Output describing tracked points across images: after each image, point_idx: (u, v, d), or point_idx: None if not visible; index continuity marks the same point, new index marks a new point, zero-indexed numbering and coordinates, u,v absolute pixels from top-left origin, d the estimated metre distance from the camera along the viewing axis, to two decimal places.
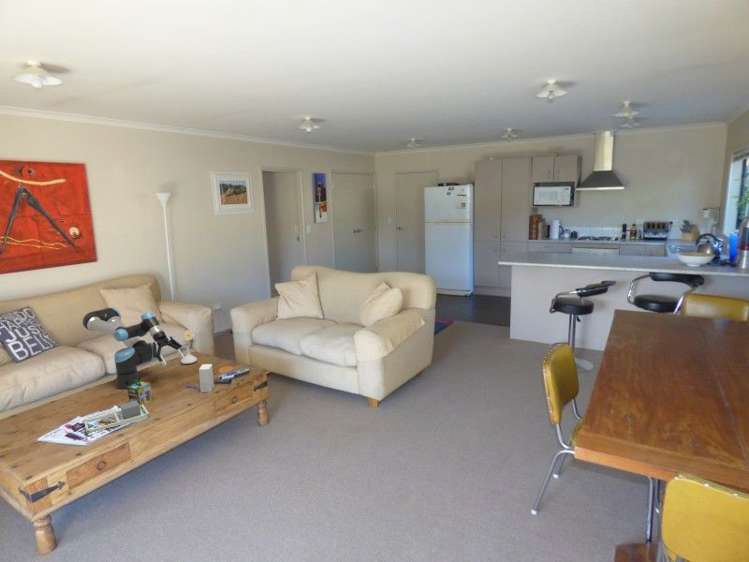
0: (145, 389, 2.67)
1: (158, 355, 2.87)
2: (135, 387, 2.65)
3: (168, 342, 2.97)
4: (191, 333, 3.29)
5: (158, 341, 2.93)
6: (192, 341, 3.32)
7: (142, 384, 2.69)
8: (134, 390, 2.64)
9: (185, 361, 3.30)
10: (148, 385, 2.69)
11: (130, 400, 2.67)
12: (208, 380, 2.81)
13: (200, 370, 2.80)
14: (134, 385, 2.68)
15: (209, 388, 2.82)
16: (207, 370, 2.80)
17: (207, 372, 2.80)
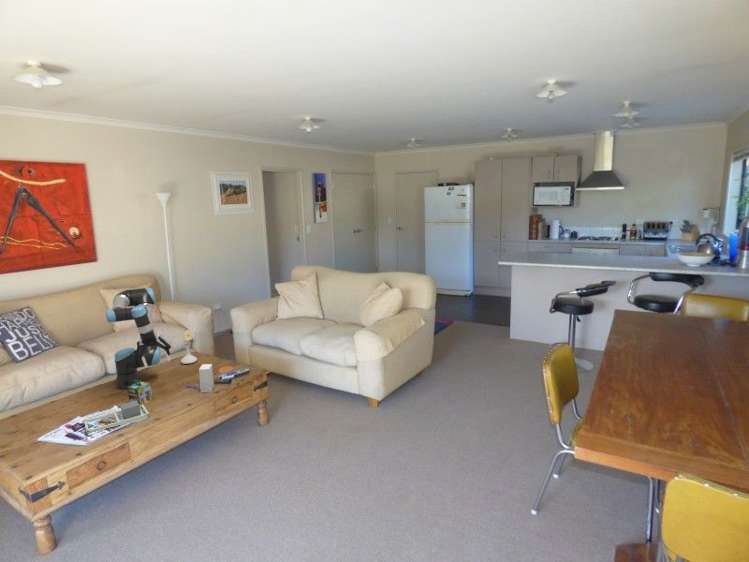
0: (145, 389, 2.67)
1: (139, 357, 2.75)
2: (135, 387, 2.65)
3: (154, 344, 2.74)
4: (191, 333, 3.29)
5: (143, 341, 2.73)
6: (192, 341, 3.32)
7: (142, 384, 2.69)
8: (134, 390, 2.64)
9: (185, 361, 3.30)
10: (148, 385, 2.69)
11: (130, 400, 2.67)
12: (208, 380, 2.81)
13: (200, 370, 2.80)
14: (134, 385, 2.68)
15: (209, 388, 2.82)
16: (207, 370, 2.80)
17: (207, 372, 2.80)
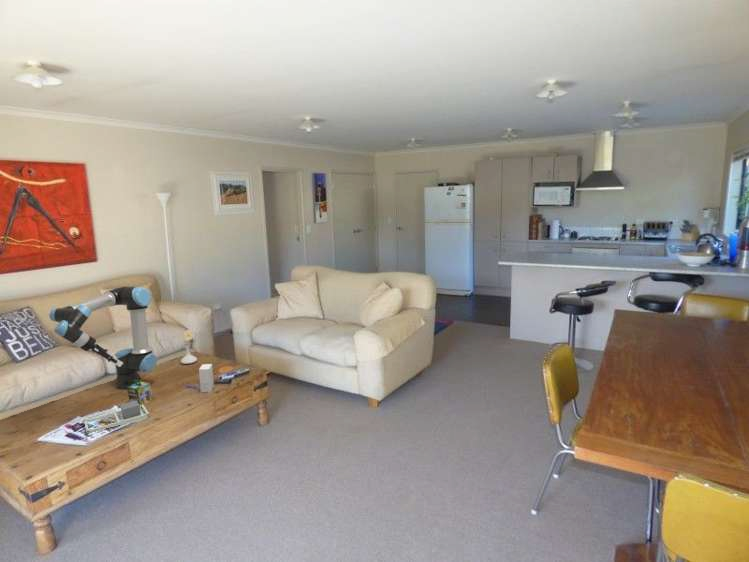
0: (145, 389, 2.67)
1: None
2: (135, 387, 2.65)
3: (97, 353, 2.51)
4: (191, 333, 3.29)
5: None
6: (192, 341, 3.32)
7: (142, 384, 2.69)
8: (134, 390, 2.64)
9: (185, 361, 3.30)
10: (148, 385, 2.69)
11: (130, 400, 2.67)
12: (208, 380, 2.81)
13: (200, 370, 2.80)
14: (134, 385, 2.68)
15: (209, 388, 2.82)
16: (207, 370, 2.80)
17: (207, 372, 2.80)
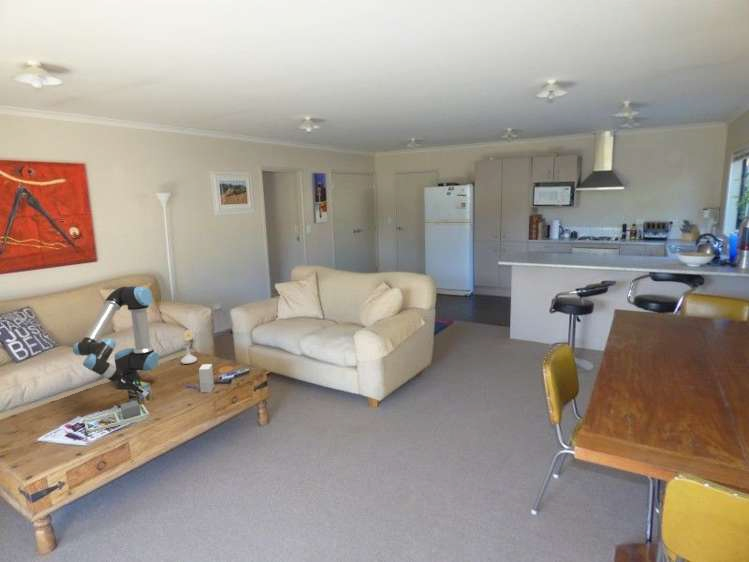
0: (145, 389, 2.67)
1: None
2: None
3: None
4: (191, 333, 3.29)
5: None
6: (192, 341, 3.32)
7: (142, 384, 2.69)
8: None
9: (185, 361, 3.30)
10: (148, 385, 2.69)
11: (130, 400, 2.67)
12: (208, 380, 2.81)
13: (200, 370, 2.80)
14: None
15: (209, 388, 2.82)
16: (207, 370, 2.80)
17: (207, 372, 2.80)
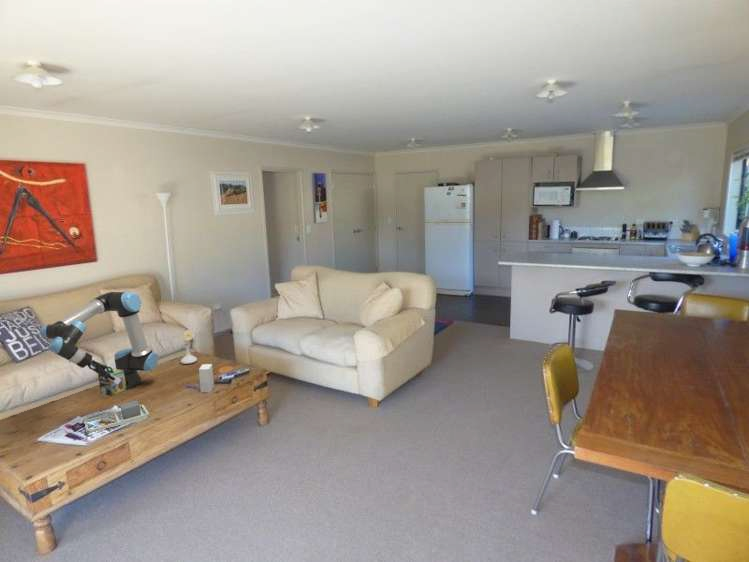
0: (117, 376, 2.47)
1: None
2: None
3: None
4: (191, 333, 3.29)
5: None
6: (192, 341, 3.32)
7: (114, 371, 2.48)
8: None
9: (185, 361, 3.30)
10: (121, 372, 2.49)
11: (101, 388, 2.47)
12: (208, 380, 2.81)
13: (200, 370, 2.80)
14: None
15: (209, 388, 2.82)
16: (207, 370, 2.80)
17: (207, 372, 2.80)
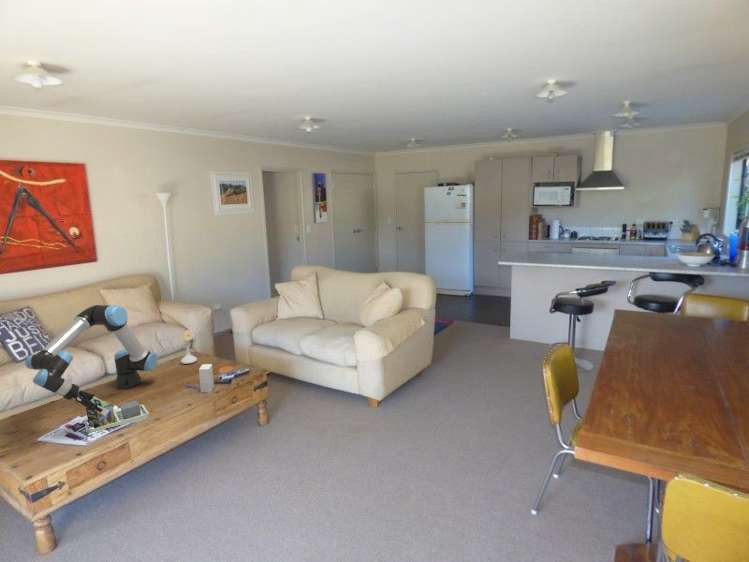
0: None
1: (89, 399, 2.46)
2: None
3: None
4: (191, 333, 3.29)
5: None
6: (192, 341, 3.32)
7: (103, 404, 2.42)
8: (93, 411, 2.37)
9: (185, 361, 3.30)
10: (109, 405, 2.42)
11: (89, 422, 2.40)
12: (208, 380, 2.81)
13: (200, 370, 2.80)
14: None
15: (209, 388, 2.82)
16: (207, 370, 2.80)
17: (207, 372, 2.80)
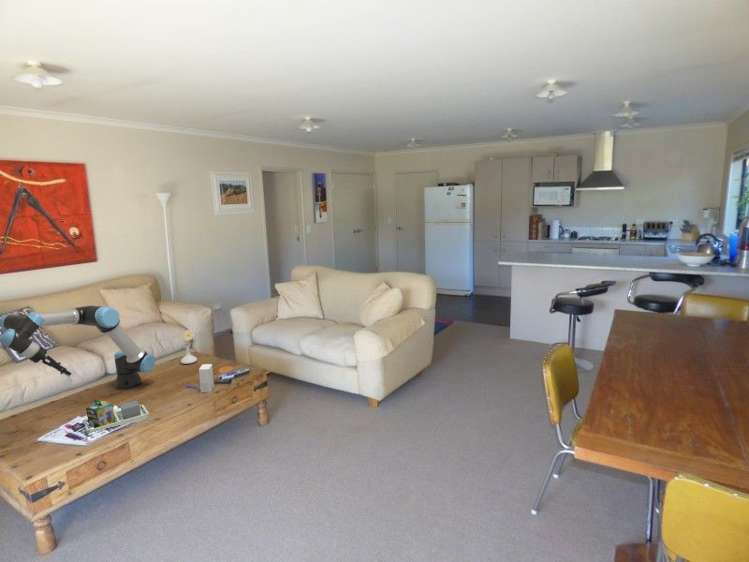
0: (105, 409, 2.40)
1: None
2: (94, 407, 2.38)
3: (48, 365, 2.28)
4: (191, 333, 3.29)
5: None
6: (192, 341, 3.32)
7: (103, 404, 2.42)
8: (93, 411, 2.37)
9: (185, 361, 3.30)
10: (109, 405, 2.42)
11: (89, 422, 2.40)
12: (208, 380, 2.81)
13: (200, 370, 2.80)
14: (94, 405, 2.41)
15: (209, 388, 2.82)
16: (207, 370, 2.80)
17: (207, 372, 2.80)
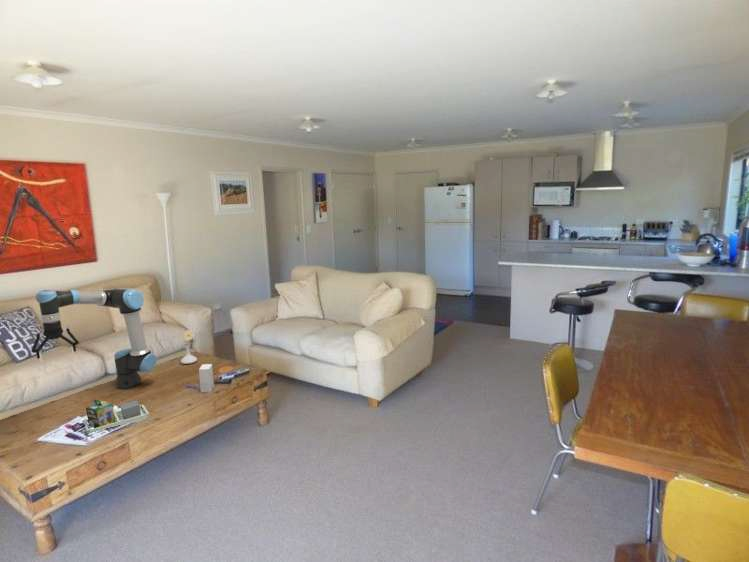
0: (105, 409, 2.40)
1: (36, 352, 2.31)
2: (94, 407, 2.38)
3: None
4: (191, 333, 3.29)
5: (45, 333, 2.32)
6: (192, 341, 3.32)
7: (103, 404, 2.42)
8: (93, 411, 2.37)
9: (185, 361, 3.30)
10: (109, 405, 2.42)
11: (89, 422, 2.40)
12: (208, 380, 2.81)
13: (200, 370, 2.80)
14: (94, 405, 2.41)
15: (209, 388, 2.82)
16: (207, 370, 2.80)
17: (207, 372, 2.80)
